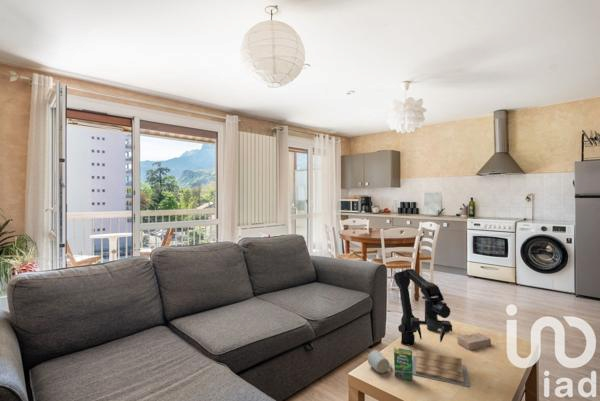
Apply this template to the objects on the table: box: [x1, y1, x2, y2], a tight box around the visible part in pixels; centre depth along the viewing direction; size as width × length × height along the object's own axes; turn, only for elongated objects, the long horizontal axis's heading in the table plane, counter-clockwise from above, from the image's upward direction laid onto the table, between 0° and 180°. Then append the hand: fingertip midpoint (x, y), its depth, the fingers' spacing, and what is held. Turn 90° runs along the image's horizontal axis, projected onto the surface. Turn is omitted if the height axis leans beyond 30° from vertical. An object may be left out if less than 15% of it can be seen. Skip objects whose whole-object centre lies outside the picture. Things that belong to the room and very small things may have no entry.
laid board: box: [416, 363, 464, 384], centre depth 144 cm, size 20×7×1 cm, turn 66°
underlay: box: [412, 355, 470, 387], centre depth 148 cm, size 24×17×1 cm
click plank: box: [416, 349, 463, 372], centre depth 150 cm, size 20×7×1 cm, turn 66°
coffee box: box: [393, 346, 414, 382], centre depth 142 cm, size 8×3×13 cm, turn 61°
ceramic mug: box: [367, 350, 393, 374], centre depth 149 cm, size 11×8×8 cm
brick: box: [457, 332, 492, 351], centre depth 172 cm, size 17×8×5 cm, turn 110°
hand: (430, 340), depth 156 cm, fingers open, 9 cm apart
